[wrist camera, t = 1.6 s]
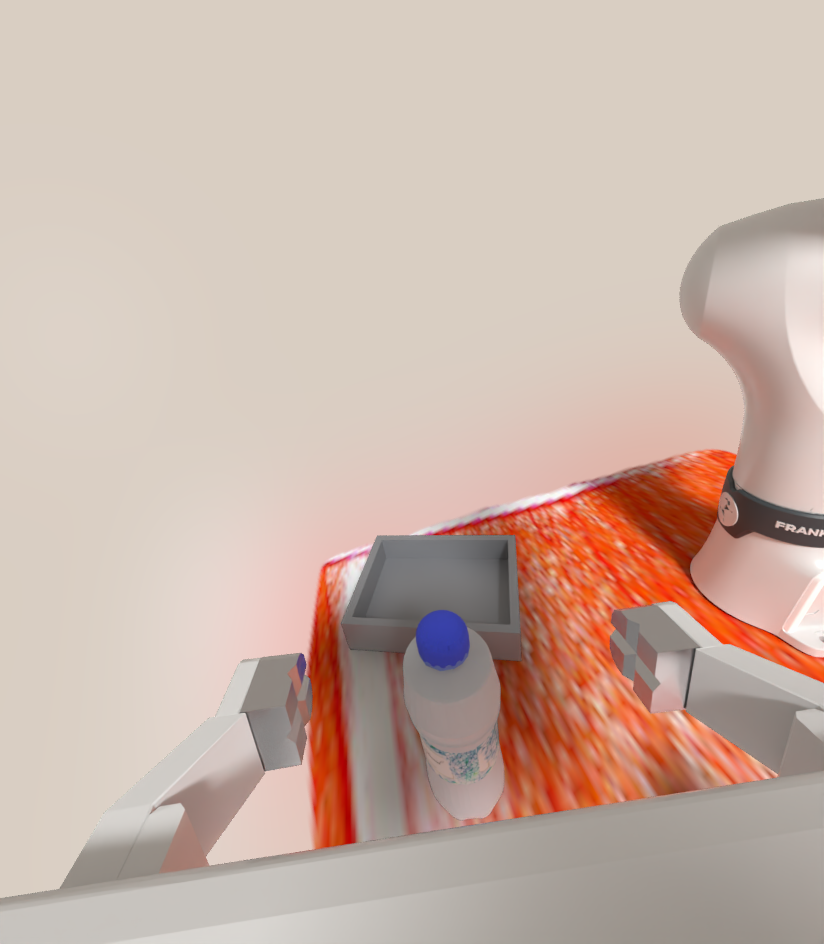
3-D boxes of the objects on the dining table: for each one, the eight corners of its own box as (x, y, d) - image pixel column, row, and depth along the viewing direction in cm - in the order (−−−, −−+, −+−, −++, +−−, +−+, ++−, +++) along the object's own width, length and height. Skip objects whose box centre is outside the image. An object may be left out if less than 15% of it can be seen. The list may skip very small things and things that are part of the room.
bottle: (417, 764, 36) (372, 609, 26) (480, 727, 38) (460, 571, 28) (452, 852, 30) (412, 696, 21) (525, 803, 32) (518, 640, 23)
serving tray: (516, 560, 56) (515, 535, 54) (521, 661, 43) (520, 633, 41) (382, 558, 61) (377, 535, 59) (349, 649, 48) (340, 623, 46)
